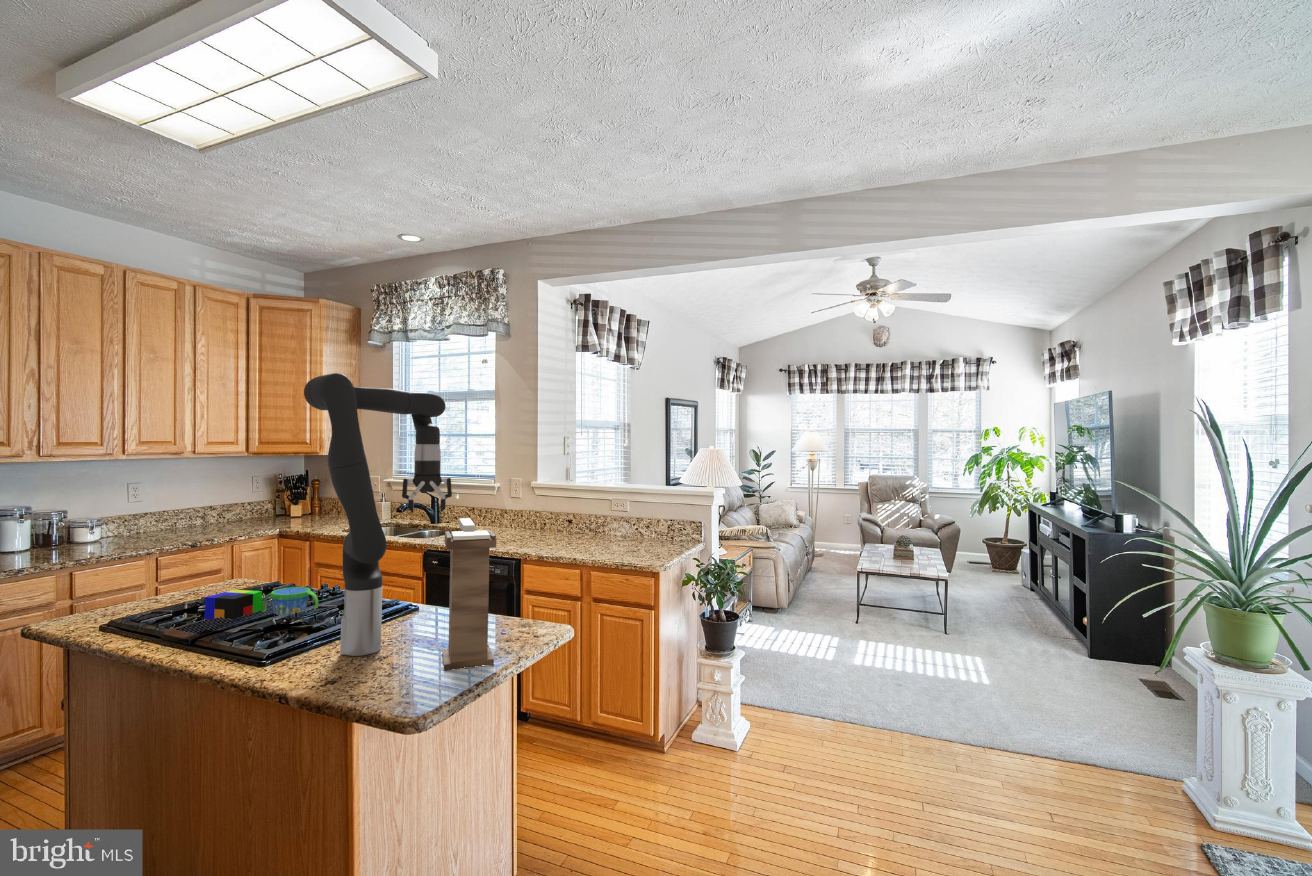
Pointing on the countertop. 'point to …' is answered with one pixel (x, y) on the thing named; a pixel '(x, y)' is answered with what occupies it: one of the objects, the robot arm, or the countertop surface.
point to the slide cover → (469, 531)
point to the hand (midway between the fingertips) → (427, 511)
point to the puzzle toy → (233, 604)
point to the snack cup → (289, 600)
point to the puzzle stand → (468, 603)
